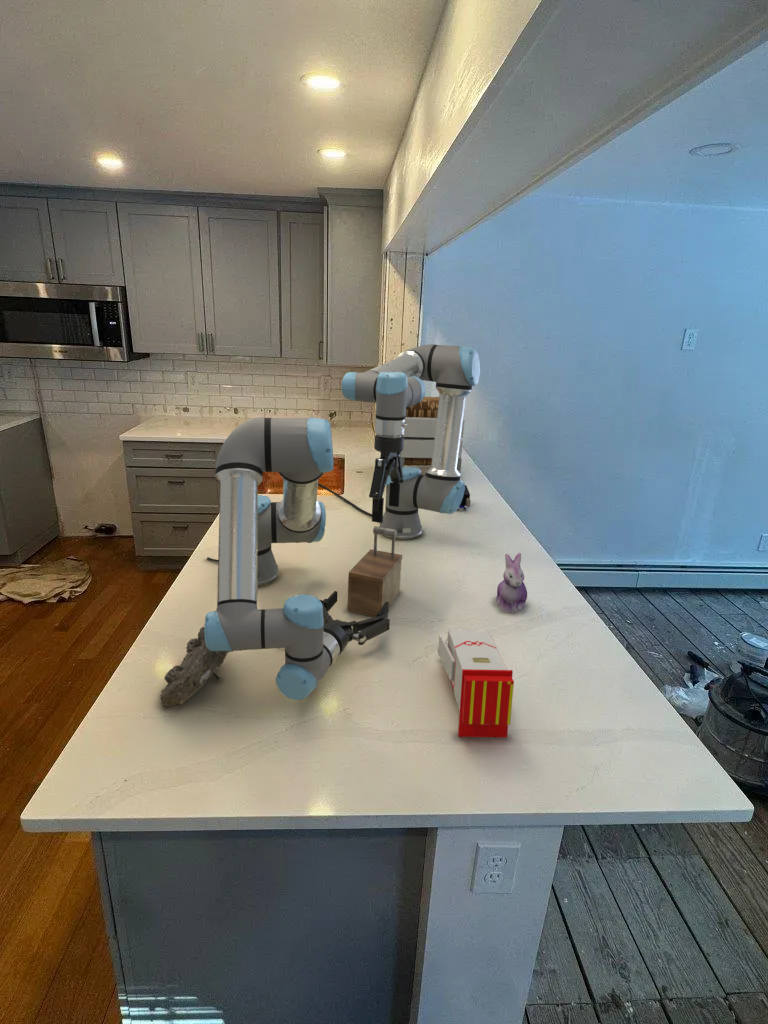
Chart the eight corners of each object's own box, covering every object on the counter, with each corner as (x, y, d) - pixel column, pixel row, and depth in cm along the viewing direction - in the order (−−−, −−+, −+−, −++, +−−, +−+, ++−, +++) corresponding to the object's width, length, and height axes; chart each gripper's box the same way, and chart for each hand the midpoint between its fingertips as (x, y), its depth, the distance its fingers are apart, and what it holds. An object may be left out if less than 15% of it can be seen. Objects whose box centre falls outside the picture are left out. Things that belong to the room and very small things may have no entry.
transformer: (382, 463, 289) (386, 382, 275) (445, 464, 293) (451, 384, 279) (390, 482, 257) (394, 392, 243) (460, 483, 261) (468, 394, 247)
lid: (370, 553, 159) (371, 522, 156) (402, 558, 156) (403, 528, 153) (348, 576, 144) (349, 543, 141) (382, 583, 142) (384, 550, 139)
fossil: (184, 629, 128) (231, 598, 123) (214, 657, 131) (261, 628, 126) (138, 700, 109) (191, 667, 104) (173, 731, 112) (227, 701, 107)
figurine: (509, 617, 148) (516, 565, 143) (485, 599, 156) (491, 550, 151) (537, 610, 152) (544, 559, 147) (512, 593, 161) (519, 544, 156)
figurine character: (470, 515, 225) (465, 499, 238) (472, 498, 221) (467, 483, 235) (453, 515, 224) (449, 499, 238) (455, 497, 221) (451, 482, 234)
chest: (368, 586, 162) (369, 553, 158) (399, 592, 159) (401, 559, 155) (347, 611, 148) (348, 576, 144) (381, 618, 145) (382, 583, 142)
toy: (488, 613, 130) (523, 677, 101) (484, 667, 133) (517, 744, 104) (435, 612, 130) (455, 676, 101) (432, 666, 133) (451, 743, 103)
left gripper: (274, 647, 127) (315, 604, 146) (378, 673, 119) (408, 625, 138) (273, 618, 124) (315, 578, 143) (380, 643, 117) (410, 597, 136)
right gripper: (387, 446, 131) (383, 531, 139) (417, 427, 154) (412, 501, 161) (357, 443, 134) (355, 526, 141) (391, 425, 156) (387, 498, 163)
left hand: (361, 601), depth 141 cm, fingers open, 13 cm apart
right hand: (385, 513), depth 151 cm, fingers open, 13 cm apart
